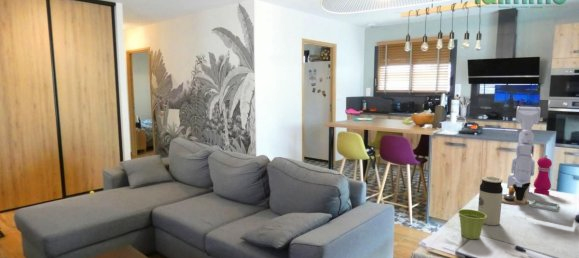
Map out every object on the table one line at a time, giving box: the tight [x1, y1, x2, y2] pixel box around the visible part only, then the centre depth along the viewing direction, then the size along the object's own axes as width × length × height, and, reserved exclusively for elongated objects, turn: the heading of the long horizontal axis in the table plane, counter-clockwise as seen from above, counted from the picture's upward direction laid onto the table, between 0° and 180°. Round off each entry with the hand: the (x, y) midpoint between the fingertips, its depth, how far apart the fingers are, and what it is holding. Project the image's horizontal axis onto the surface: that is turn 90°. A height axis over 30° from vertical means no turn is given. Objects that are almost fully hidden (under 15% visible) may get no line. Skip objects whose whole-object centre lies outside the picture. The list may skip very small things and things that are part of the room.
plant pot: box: [457, 208, 487, 240], centre depth 133 cm, size 9×9×9 cm
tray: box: [530, 199, 560, 213], centre depth 160 cm, size 9×9×2 cm
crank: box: [504, 186, 515, 200], centre depth 171 cm, size 9×4×4 cm, turn 139°
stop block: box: [514, 189, 528, 204], centre depth 166 cm, size 4×4×6 cm
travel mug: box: [477, 176, 504, 226], centre depth 145 cm, size 8×8×18 cm
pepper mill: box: [533, 154, 553, 196], centre depth 182 cm, size 7×7×20 cm
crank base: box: [501, 193, 530, 207], centre depth 170 cm, size 16×16×2 cm
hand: (520, 198), depth 166 cm, fingers open, 5 cm apart
